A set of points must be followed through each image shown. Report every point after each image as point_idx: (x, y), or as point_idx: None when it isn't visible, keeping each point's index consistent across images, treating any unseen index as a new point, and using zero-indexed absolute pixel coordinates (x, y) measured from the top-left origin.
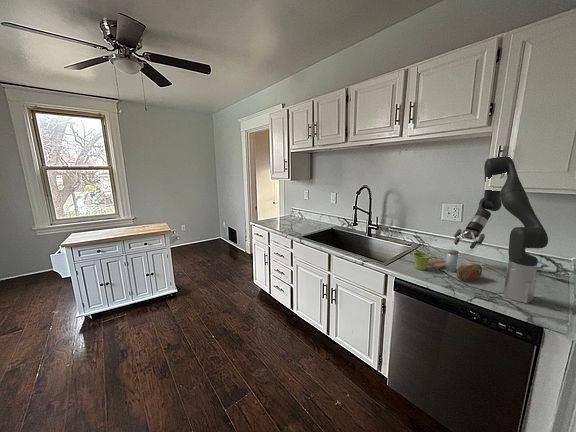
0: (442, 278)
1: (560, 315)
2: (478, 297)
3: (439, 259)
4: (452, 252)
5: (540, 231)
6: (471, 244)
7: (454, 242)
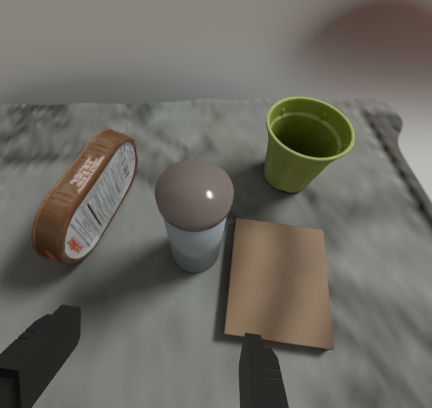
0: (182, 149)
1: None
2: (57, 107)
3: (310, 343)
4: (183, 161)
5: None
6: (50, 327)
7: (260, 335)
